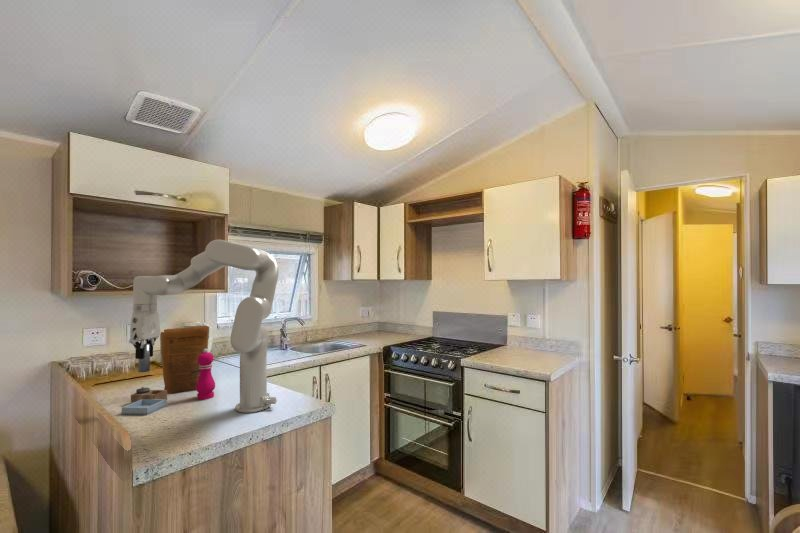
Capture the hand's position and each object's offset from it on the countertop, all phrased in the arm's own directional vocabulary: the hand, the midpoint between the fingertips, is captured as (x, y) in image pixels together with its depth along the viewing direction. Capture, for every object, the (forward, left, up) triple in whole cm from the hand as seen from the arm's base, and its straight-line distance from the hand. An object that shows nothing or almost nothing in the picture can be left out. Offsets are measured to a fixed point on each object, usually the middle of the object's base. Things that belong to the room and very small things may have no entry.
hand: (144, 357), depth 147 cm
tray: (0, 0, -20) cm, 20 cm away
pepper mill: (-14, -16, -20) cm, 29 cm away
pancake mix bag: (+1, -25, -20) cm, 32 cm away
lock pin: (0, 0, -5) cm, 5 cm away
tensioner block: (+5, -9, -20) cm, 22 cm away
